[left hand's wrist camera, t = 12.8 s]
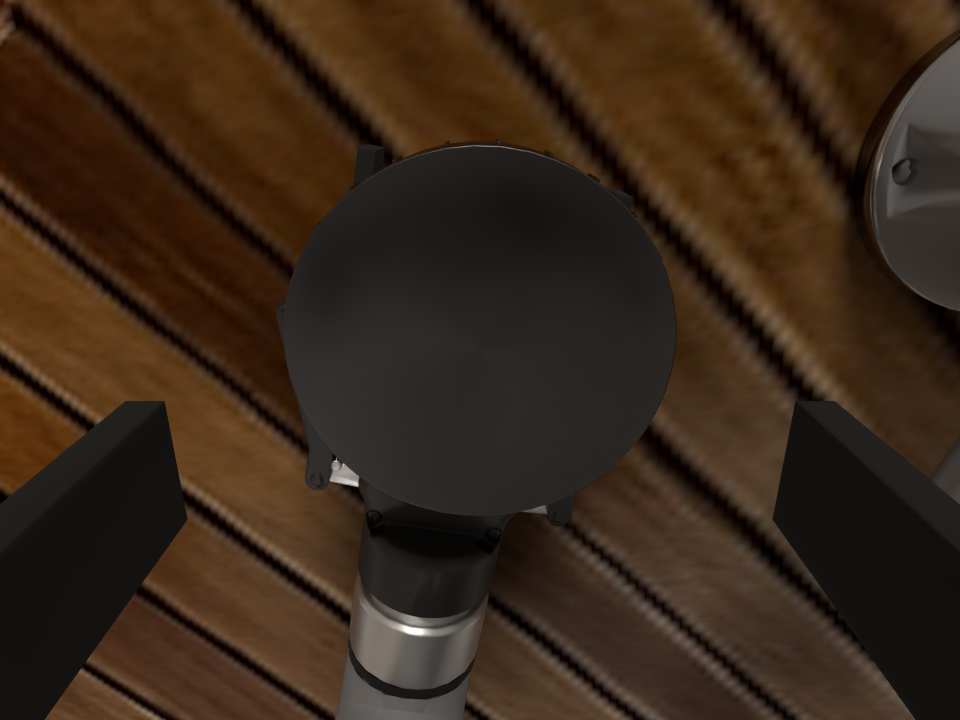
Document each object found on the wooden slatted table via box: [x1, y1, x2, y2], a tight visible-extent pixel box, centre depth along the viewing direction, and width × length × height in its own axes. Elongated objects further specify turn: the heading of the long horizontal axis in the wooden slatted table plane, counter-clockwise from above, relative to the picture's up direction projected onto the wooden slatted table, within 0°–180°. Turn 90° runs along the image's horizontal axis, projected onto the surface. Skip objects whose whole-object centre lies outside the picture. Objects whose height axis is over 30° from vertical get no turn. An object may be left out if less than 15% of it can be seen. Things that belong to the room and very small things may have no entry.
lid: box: [283, 139, 676, 516], centre depth 20 cm, size 12×12×2 cm
